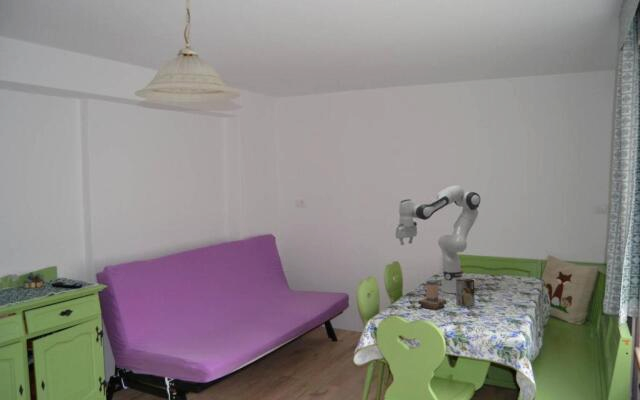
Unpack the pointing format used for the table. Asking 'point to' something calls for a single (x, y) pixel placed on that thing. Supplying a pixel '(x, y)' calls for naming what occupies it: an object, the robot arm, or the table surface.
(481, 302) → the table surface
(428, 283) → the housing
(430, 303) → the walnut stand
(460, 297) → the coffee box
